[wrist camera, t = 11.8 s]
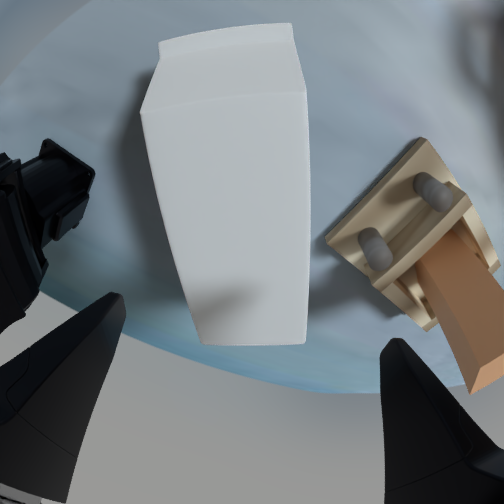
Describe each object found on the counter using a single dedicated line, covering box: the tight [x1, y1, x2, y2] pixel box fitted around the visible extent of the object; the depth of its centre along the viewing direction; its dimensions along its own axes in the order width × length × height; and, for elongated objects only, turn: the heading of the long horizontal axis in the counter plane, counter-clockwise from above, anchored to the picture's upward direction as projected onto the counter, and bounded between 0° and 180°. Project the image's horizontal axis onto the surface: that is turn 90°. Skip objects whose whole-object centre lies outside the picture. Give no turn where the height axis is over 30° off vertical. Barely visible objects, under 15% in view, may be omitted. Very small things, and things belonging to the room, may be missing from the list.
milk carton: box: [140, 23, 310, 345], centre depth 16 cm, size 7×7×19 cm
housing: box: [325, 137, 501, 332], centre depth 19 cm, size 14×11×4 cm
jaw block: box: [415, 229, 504, 395], centre depth 15 cm, size 4×4×12 cm
